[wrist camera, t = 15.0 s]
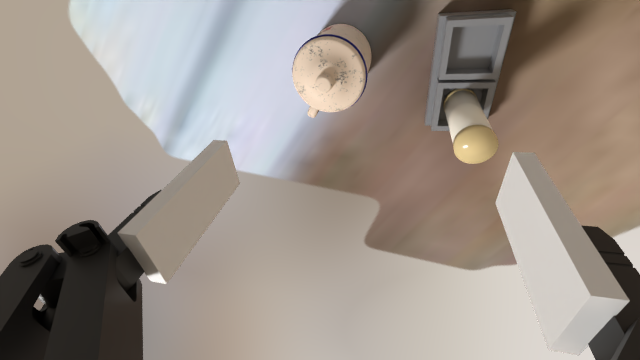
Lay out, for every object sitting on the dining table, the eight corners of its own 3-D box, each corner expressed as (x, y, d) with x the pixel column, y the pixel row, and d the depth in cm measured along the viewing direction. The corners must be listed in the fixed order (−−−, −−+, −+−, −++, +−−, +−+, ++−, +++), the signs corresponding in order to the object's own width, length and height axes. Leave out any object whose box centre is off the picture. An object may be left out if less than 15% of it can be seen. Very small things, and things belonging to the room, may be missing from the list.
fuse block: (438, 13, 36) (441, 18, 33) (511, 9, 34) (521, 14, 31) (424, 119, 45) (425, 131, 41) (483, 120, 43) (489, 133, 40)
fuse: (445, 87, 39) (458, 128, 30) (479, 87, 38) (503, 129, 29) (441, 116, 42) (451, 162, 32) (472, 116, 41) (492, 164, 31)
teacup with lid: (325, 7, 39) (301, 23, 30) (386, 42, 40) (380, 67, 30) (294, 87, 46) (266, 119, 37) (345, 114, 47) (330, 152, 38)
